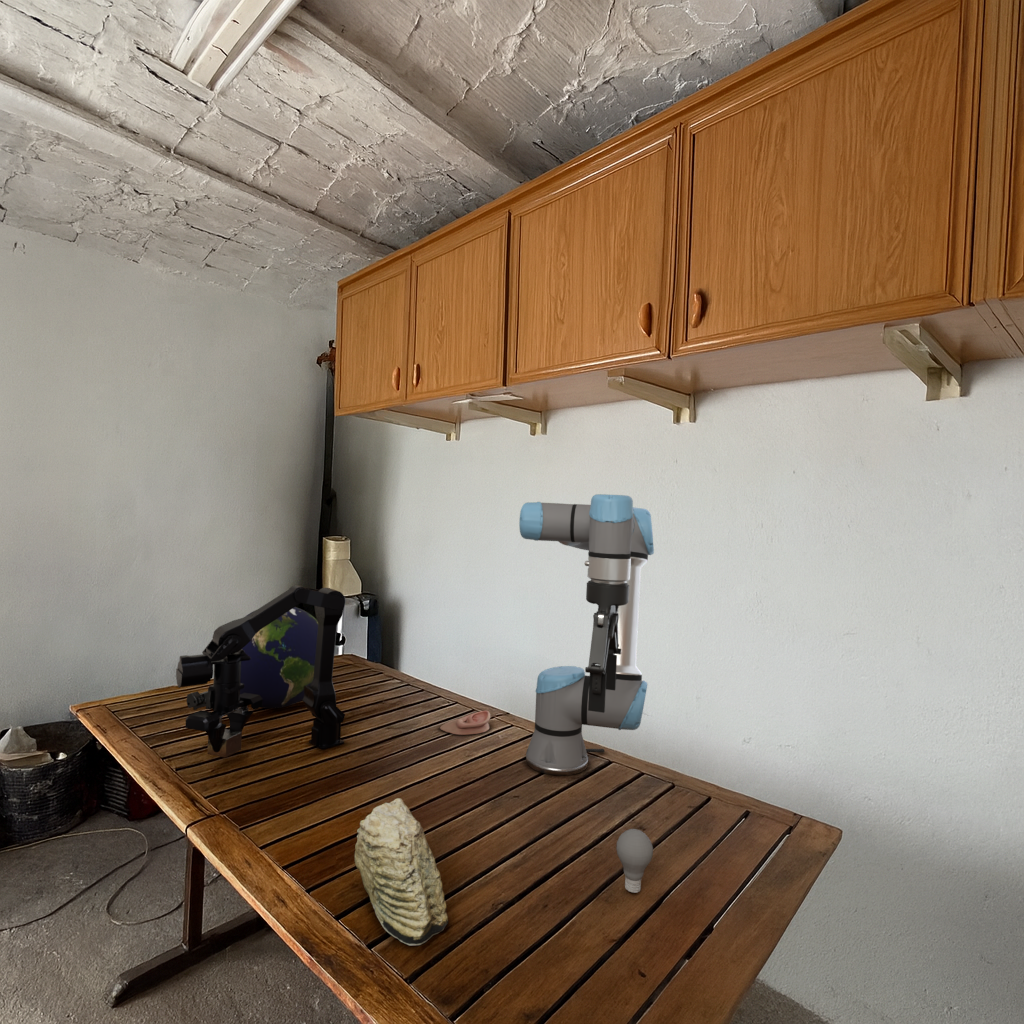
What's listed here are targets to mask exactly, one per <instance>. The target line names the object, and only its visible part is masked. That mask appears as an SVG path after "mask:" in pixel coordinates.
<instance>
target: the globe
mask: <svg viewBox="0 0 1024 1024" xmlns="http://www.w3.org/2000/svg"><path fill="white" fill-rule="evenodd" d="M256 610H257V609H255V610H253V611H251V612H250V613H248V614H246V615H245V616H244V617H246V616H248V615H250V614H251V613H253V612H254V611H256ZM317 633H318V621H317V618H315V616H314V615H312V614H311V613H310V612H308V611H305V610H304V609H302V608H299V607H298V606H296V607H294V608H293V609H291V610H290V611H288V612H287V613H285V614H284V615H282V616H281V617H279V618H277V619H276V620H274V621H273V622H271V623H270V624H268V625H267V626H265V627H264V628H262V629H261V630H259V631H258V632H257V633H256V634H255V636H254V637H253V638H252V640H251V641H250V642H249V643H248V644H247V645H245V646H244V647H243V648H242V649H243V650H244V651H245V653H246V654H247V655H248V656H249V657H251V659H250V660H247V661H241V679H240V683H242V684H244V688H243V689H241V690H240V694H243V693H250V694H256V695H260V696H261V698H262V699H263V701H262V707H260V708H262V709H282V708H285V707H289V706H293V705H295V704H298V703H299V702H301V701H302V700H303V698H304V686H305V685H307V686H310V684H311V682H312V680H313V677H314V666H315V655H316V644H317Z"/></svg>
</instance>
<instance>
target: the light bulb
mask: <svg viewBox="0 0 1024 1024" xmlns="http://www.w3.org/2000/svg"><path fill="white" fill-rule="evenodd" d="M615 849H616V854H617V857H618V859H619V861H620V863H621V865H622V867H623V873H624V874H623V875H624V876H625V878H624V888H625V890H627V891H628V892H630V893H634V894H635V893H639V892H640V891H641V889H642V887H641V886H642V879H643V877H644V875H645V871H646V868H647V867H648V866H649V864H650V863H651V861H652V859H653V855H654V847H653V843H652V841H651V838H649V836H648V835H647V834H646V833H645V832H643V831H642V830H641V829H636V828H629V829H627V830H625V831H623V832H622V833H621V834H620V835H619V837H618V839H617V841H616V847H615Z"/></svg>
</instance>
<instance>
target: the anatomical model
mask: <svg viewBox="0 0 1024 1024" xmlns="http://www.w3.org/2000/svg"><path fill="white" fill-rule="evenodd" d="M490 720H491V712H490V711H489V710H487V709H486V710H481V711H477V712H474V713H470V714H467V715H464V716H462V717H459V718H456V719H452V720H448V721H447V722H445V723H443V724H442V725H440V727H439V729H440V730H441V731H443V732H446V733H449V734H453V735H457V736H463V735H466V736H467V735H476V734H481V733H485V732H487V731H489V730H490V724H489V722H490Z"/></svg>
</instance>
